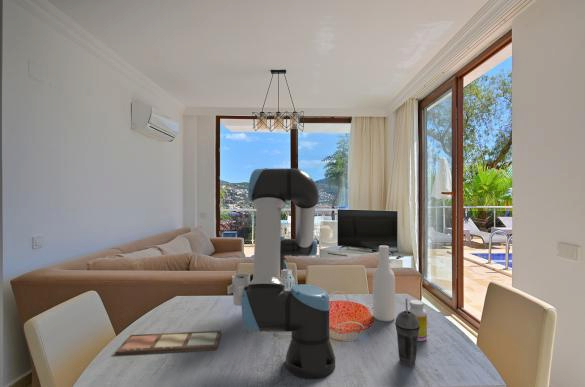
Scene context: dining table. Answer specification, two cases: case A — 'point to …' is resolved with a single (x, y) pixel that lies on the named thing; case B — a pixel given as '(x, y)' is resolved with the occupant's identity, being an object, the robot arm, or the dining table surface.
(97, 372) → the dining table surface
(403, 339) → the beverage cup
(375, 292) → the white bottle
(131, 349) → the tile board
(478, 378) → the dining table surface
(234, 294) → the white coffee cup
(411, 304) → the supplement bottle
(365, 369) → the dining table surface
